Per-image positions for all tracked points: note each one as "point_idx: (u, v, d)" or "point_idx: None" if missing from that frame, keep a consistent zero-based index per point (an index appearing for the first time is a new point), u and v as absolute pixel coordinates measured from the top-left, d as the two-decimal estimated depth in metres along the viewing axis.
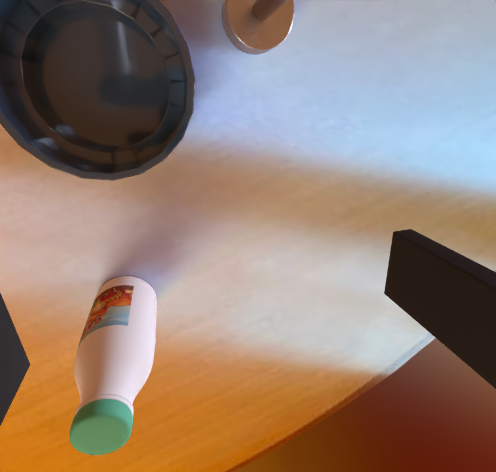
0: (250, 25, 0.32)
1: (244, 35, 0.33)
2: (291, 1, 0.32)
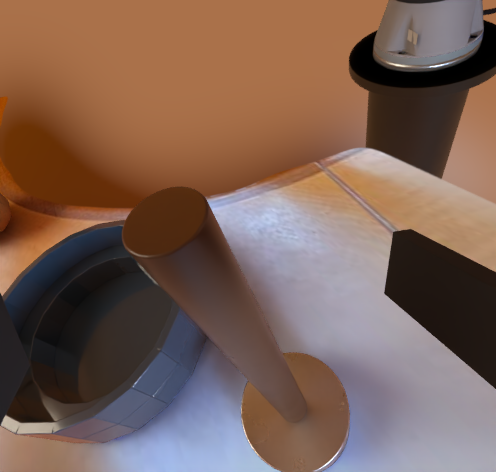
0: (266, 408, 0.21)
1: (250, 412, 0.21)
2: (341, 436, 0.19)
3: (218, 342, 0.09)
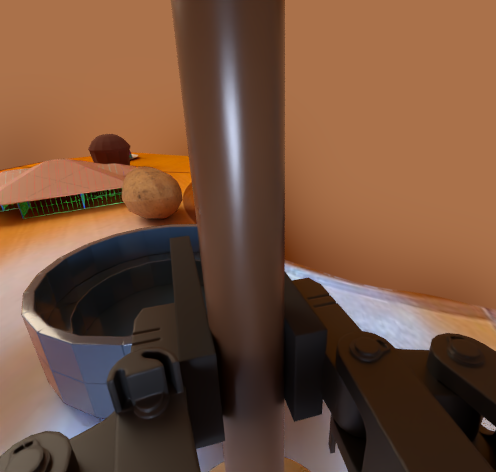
0: None
1: None
2: None
3: (190, 136, 0.06)
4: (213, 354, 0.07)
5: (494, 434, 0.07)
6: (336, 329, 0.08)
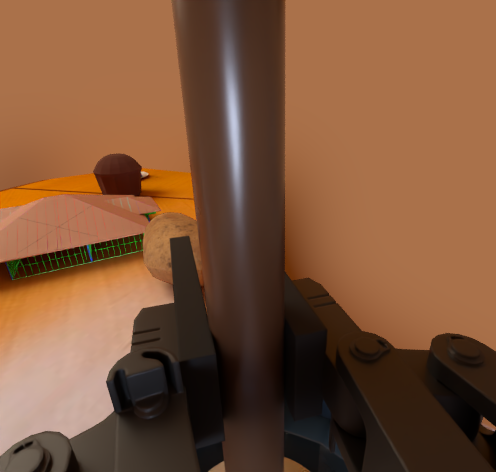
0: None
1: None
2: None
3: (191, 135, 0.05)
4: (213, 354, 0.07)
5: (494, 434, 0.07)
6: (336, 329, 0.08)
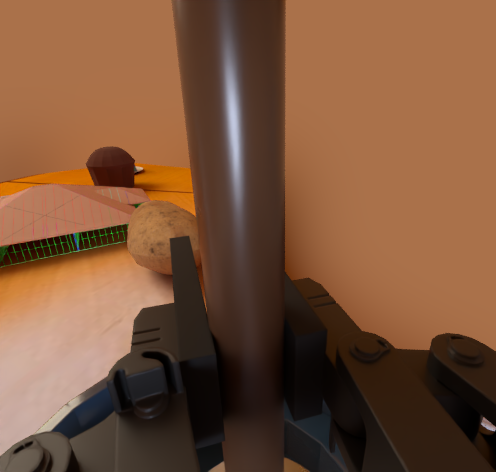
0: None
1: None
2: None
3: (191, 136, 0.05)
4: (213, 354, 0.07)
5: (494, 434, 0.07)
6: (336, 329, 0.08)
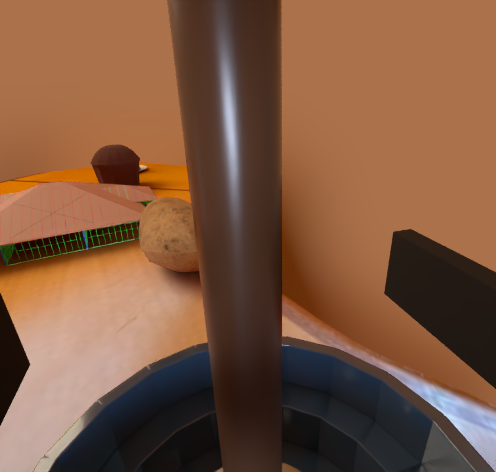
0: None
1: None
2: None
3: (189, 158, 0.06)
4: None
5: None
6: None
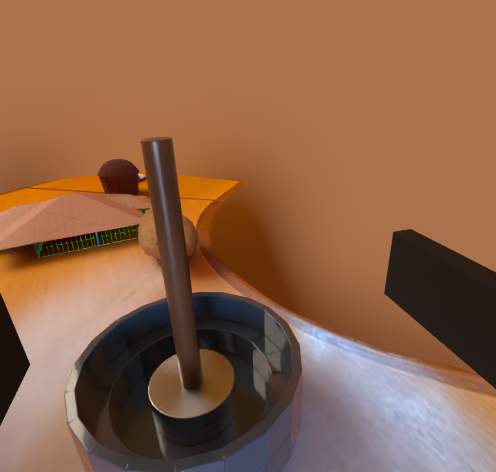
0: (177, 369, 0.27)
1: (168, 364, 0.28)
2: (199, 412, 0.23)
3: (153, 213, 0.20)
4: None
5: None
6: None
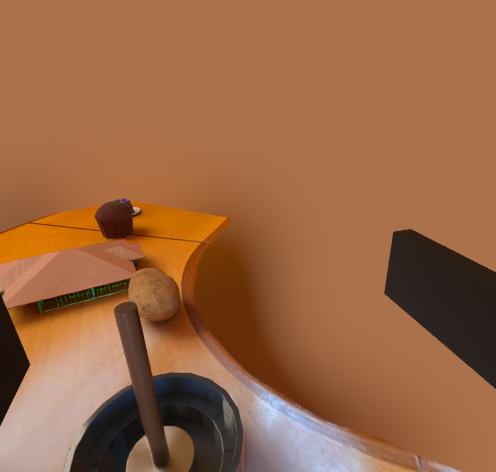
0: None
1: (143, 442, 0.35)
2: None
3: None
4: None
5: None
6: None
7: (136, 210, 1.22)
